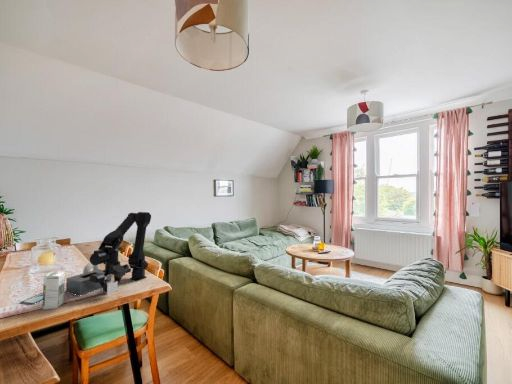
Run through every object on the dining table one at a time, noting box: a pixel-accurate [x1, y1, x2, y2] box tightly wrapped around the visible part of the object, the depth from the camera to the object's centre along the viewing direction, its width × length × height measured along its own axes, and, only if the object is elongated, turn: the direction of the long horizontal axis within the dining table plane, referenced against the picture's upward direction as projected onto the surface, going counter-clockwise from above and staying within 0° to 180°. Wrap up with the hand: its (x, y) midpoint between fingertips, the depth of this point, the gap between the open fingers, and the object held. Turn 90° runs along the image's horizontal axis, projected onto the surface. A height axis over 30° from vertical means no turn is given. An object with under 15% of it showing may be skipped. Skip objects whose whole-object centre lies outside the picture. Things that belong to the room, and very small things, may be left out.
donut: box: [82, 262, 101, 274], centre depth 139 cm, size 10×3×10 cm, turn 170°
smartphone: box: [19, 292, 43, 306], centre depth 114 cm, size 7×1×15 cm
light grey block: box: [103, 280, 119, 295], centre depth 122 cm, size 6×2×5 cm, turn 156°
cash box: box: [65, 269, 112, 297], centre depth 125 cm, size 16×11×7 cm
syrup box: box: [41, 271, 66, 311], centre depth 105 cm, size 6×6×14 cm
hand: (110, 290), depth 122 cm, fingers closed on light grey block, 5 cm apart
